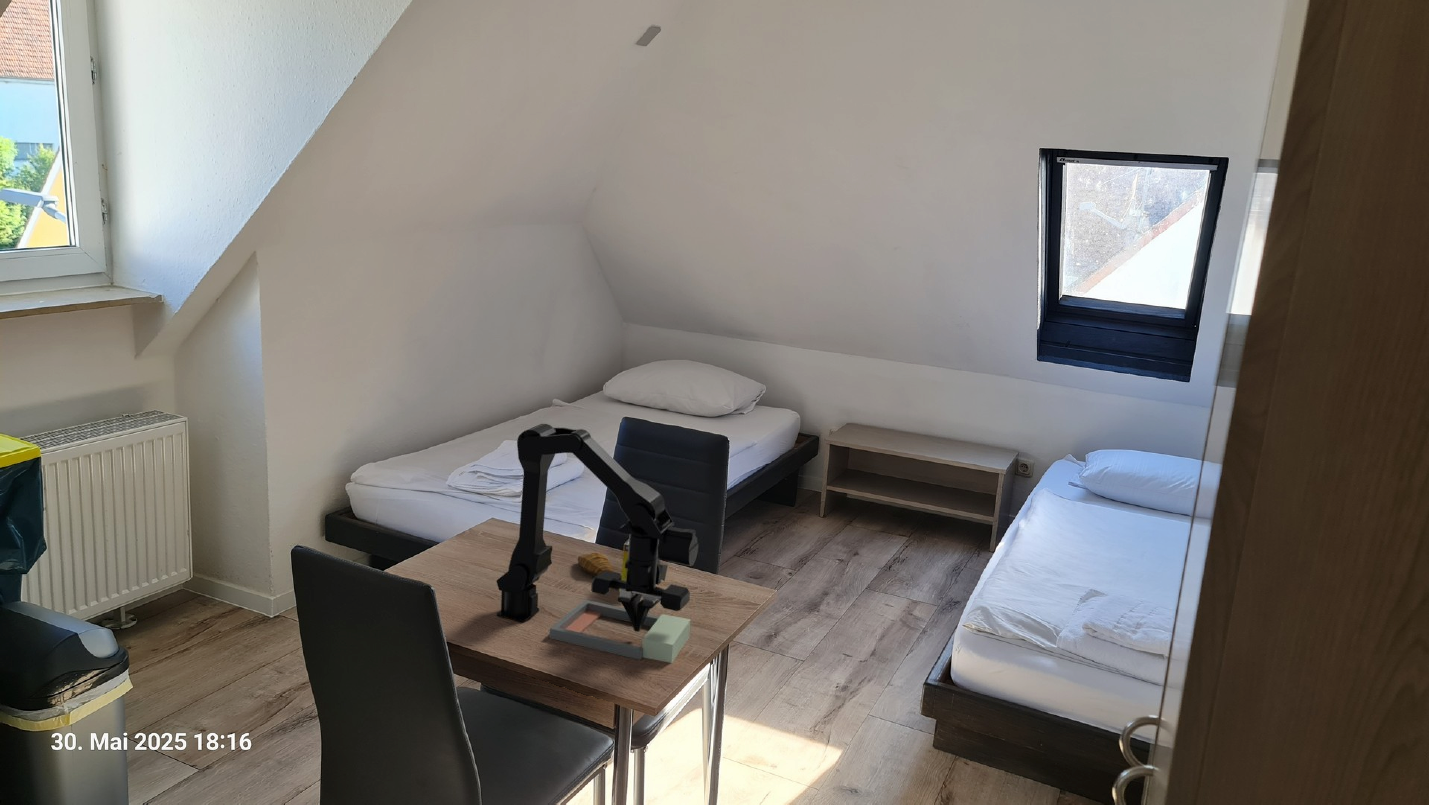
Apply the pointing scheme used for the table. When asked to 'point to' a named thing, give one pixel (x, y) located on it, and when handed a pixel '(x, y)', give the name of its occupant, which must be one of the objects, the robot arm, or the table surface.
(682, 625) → the block
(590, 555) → the croissant
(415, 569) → the table surface
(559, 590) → the table surface
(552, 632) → the channel
